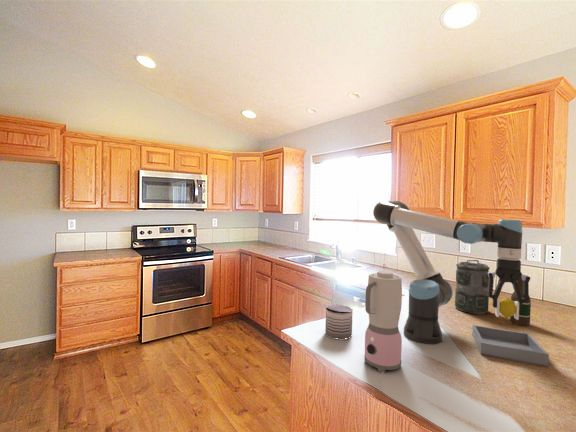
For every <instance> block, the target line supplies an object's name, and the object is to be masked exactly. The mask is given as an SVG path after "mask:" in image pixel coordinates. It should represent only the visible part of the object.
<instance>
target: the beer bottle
mask: <svg viewBox="0 0 576 432" xmlns="http://www.w3.org/2000/svg"><path fill="white" fill-rule="evenodd" d="M517 283H518V287H519V290H520V294H521V297H522V298H523V280H522V277H520V278H519V279H518V280H517ZM531 299H532V298H531V297H530V296H529V301H528V302H523V303H522V311H519V320H516V319H515V318H514V315H513V316H511V317H509V318H510V319H509V320H510V322H511V324H514V325H517V326H521V327H528V326H530V325H531V308H532V307H531V305H532V303H531V301H532V300H531ZM510 300H512V301H513V302H514V303H515V301H517V298H516V295H515V291H514V290H513V292H512V293H511V296H510Z"/></svg>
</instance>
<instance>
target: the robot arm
mask: <svg viewBox="0 0 576 432" xmlns="http://www.w3.org/2000/svg"><path fill="white" fill-rule="evenodd" d="M372 211H373V214H372V215H373V217H374V219H375V220H376V221H377V223H380V224H383V225H386V226H387V227H388V230H389V231H390V232H392V233H394V235H395V237H396V239H397V241H398V243H399V245H400V246H401V248H402V250H403V252H404V255H405V256H406V258H407V260H408V262H409V264H410V267H411V268H412V271H413V272H414V275H415V276H416V279H415V280H412V281H411V282H410V283H409V287H408V316H407V319H406V321H405V324H404V326H403V335H404V336H405V337H407V339H410V340H412V341H414V340H415V342H417V341H418V342H417V343H422V344H439V343H441V342H443V332H442V329H441V326H440V323H439V322H440V321H439V308H440V307H442V306H444V305H447V304H448V303H449V302H450V301H451V299H452V297H453V295H454V294H453V288H452V285H451V284H450V282H449V281H448V280H446V279H444V277H443V275H442V274H441V273H440V271H437V270H436V269H435V268H434V266H433V265H432V262H431V260H430V258H429V257H428V255H427V253H426V252H425V249H424V248H423V246H422V244H421V242H420V240H419V238H418V237H417V234H416V233H415V231H414V230H418V231H423V232H426V233H429V234H433V235H434V234H435V235H438V236H442V237H446V238H450V239H455V240H457V241H461V243H464V244H469V245H472V244H476V243H481V242H484V243H497V257H498V258H497V259H496V269H495V271H492V272H490V271H489V272H488V277H489V282H488V293H487V295H488V296H489V299H490V298H491V299H492V307H493V308H495V310H494V311H495V312H494V313H495V314H494V315H495V316H496V318H499V317H500V311H499V308H500V301H501V300H500V299H499V296H500V294H501V291H502V290H503V287H504V285H505V283H510V284H511V285H512V287H513V292H514V291H515V295H516V298H517V301H515V306H516V312H515V314H514V318H515V319H516V320H519V311H522V303H523V302H528V301H529V297H530V295H529V294H530V288H529V283H530V281H531V277H530V276H529V275H525V274H523V273H522V272H521V269H522V268H521V267H522V262H521V259H522V247H523V246H522V244H523V243H522V242H523V241H522V240H523V223H522V222H523V221H521V220H520V219H498V222H497V223H481V222H471V223H470V222H467V221H466V222H465V221H461V220H457V219H452V218H448V217H443V216H438V215H433V214H429V213H424V212H419V211H415V210H410V208H409V206H408V205H407V204H406V203H404V202H401V201H399V200H396V201H395V200H393V201H392V200H381V201H379V202H378V203H376V205H375V206H374V208H373V210H372ZM496 276H497V278H498V282H497V285H496V287H495V289H494V281H495V279H494V278H496ZM520 277H522V280H523V298H522V297H521V294H520V290H519V287H518V283H517V280H518V279H519V278H520ZM493 291H494V292H493Z"/></svg>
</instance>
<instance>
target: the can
mask: <svg viewBox="0 0 576 432" xmlns="http://www.w3.org/2000/svg"><path fill="white" fill-rule="evenodd" d="M353 310H354V308H351V307H349V306H347V305H342V304H334V303H333V304H330V303H328V304H326V305H325V328H324V329H325V332H326V333H325V335H326V334H327V335H328V336H330V337H332V338H338V339H345V338H349V337H350V336H351V335H352V336H353ZM327 335H326V336H327ZM328 336H327V337H328ZM352 336H351V337H352ZM330 337H329V338H330ZM351 337H350V338H351ZM332 338H331V339H332ZM350 338H349V339H350Z"/></svg>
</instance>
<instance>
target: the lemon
mask: <svg viewBox="0 0 576 432" xmlns="http://www.w3.org/2000/svg"><path fill="white" fill-rule="evenodd" d="M515 312H516V306H515V303H514V302H513V301H512V300H511V298H510V297H504V298H502V299H501V300H500V308H499V314H501V315H502V316H504V318H506V319H508V318H510V317H511V316H513V315H514V314H515Z"/></svg>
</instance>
